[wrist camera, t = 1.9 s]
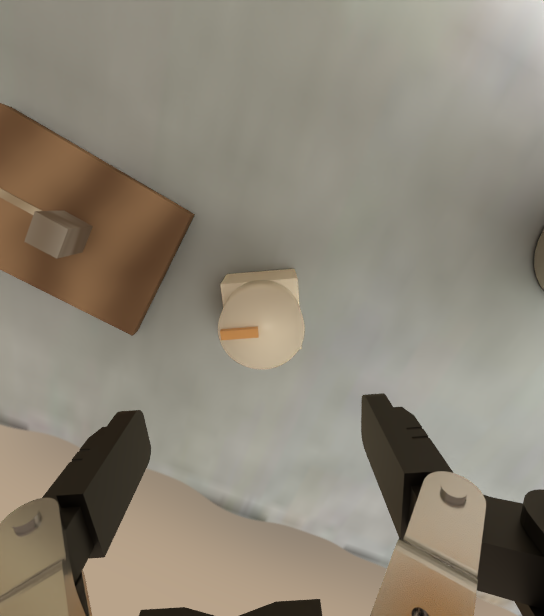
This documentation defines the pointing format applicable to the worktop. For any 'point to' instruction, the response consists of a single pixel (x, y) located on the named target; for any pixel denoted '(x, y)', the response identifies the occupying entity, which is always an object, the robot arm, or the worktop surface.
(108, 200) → the plate
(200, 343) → the worktop surface
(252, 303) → the knob
